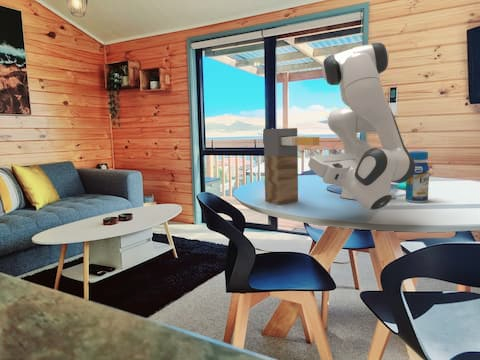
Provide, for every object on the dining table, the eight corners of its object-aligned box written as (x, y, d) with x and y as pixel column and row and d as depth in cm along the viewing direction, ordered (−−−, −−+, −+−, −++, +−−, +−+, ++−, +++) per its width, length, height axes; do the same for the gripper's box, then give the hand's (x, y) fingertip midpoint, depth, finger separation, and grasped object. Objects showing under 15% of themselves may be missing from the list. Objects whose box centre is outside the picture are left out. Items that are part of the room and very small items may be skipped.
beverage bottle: (410, 198, 147) (412, 150, 144) (431, 200, 140) (434, 151, 137) (401, 201, 141) (403, 152, 138) (423, 204, 135) (425, 152, 132)
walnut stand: (298, 201, 147) (297, 154, 144) (278, 205, 142) (277, 156, 139) (283, 198, 156) (283, 153, 153) (265, 201, 151) (264, 155, 148)
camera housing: (297, 154, 144) (297, 128, 142) (277, 156, 139) (277, 128, 138) (283, 153, 153) (282, 128, 151) (264, 155, 148) (263, 129, 146)
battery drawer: (322, 145, 128) (322, 136, 127) (309, 146, 125) (309, 137, 124) (291, 144, 144) (291, 136, 143) (279, 145, 141) (279, 137, 140)
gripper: (373, 163, 117) (347, 142, 127) (328, 167, 107) (303, 144, 117) (365, 178, 121) (340, 156, 130) (321, 183, 111) (297, 160, 120)
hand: (322, 151), depth 123 cm, fingers open, 8 cm apart
